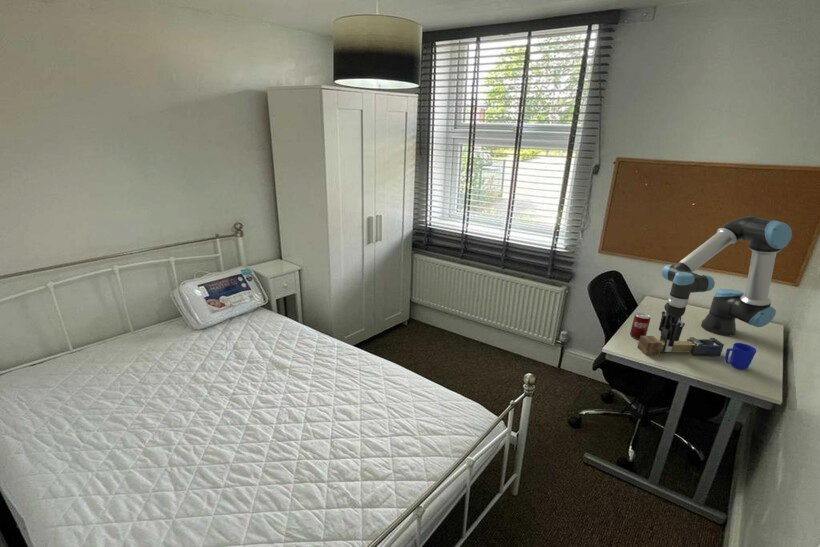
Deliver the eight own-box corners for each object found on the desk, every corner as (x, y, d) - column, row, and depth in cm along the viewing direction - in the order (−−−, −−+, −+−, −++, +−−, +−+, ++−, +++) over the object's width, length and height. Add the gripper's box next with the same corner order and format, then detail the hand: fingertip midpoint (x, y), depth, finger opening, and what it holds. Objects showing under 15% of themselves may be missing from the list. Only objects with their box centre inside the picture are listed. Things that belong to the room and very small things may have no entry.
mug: (714, 361, 186) (721, 342, 183) (738, 361, 187) (745, 342, 184) (729, 371, 178) (736, 352, 175) (754, 371, 179) (761, 351, 176)
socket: (650, 347, 197) (653, 335, 194) (658, 355, 190) (662, 343, 188) (637, 347, 196) (640, 335, 194) (645, 355, 190) (648, 342, 188)
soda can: (647, 340, 203) (653, 319, 199) (632, 339, 205) (637, 317, 201) (642, 334, 210) (647, 313, 206) (627, 332, 211) (632, 311, 207)
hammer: (693, 347, 195) (700, 327, 191) (699, 352, 191) (706, 331, 188) (644, 346, 195) (649, 326, 191) (649, 351, 191) (654, 330, 187)
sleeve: (710, 349, 197) (713, 337, 195) (720, 356, 191) (724, 344, 189) (684, 348, 197) (687, 337, 195) (693, 355, 191) (697, 343, 188)
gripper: (657, 297, 193) (646, 339, 201) (680, 312, 177) (667, 358, 185) (673, 297, 193) (661, 340, 201) (697, 312, 177) (683, 358, 185)
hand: (664, 348), depth 193 cm, fingers closed on hammer, 4 cm apart
